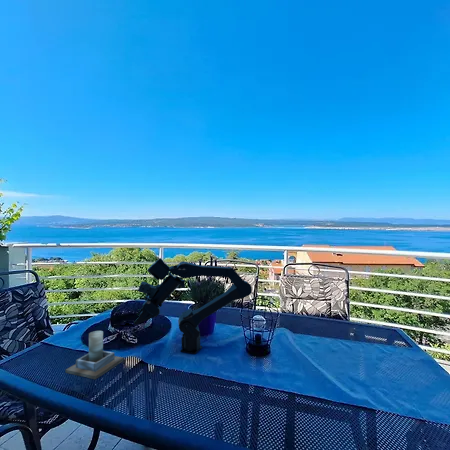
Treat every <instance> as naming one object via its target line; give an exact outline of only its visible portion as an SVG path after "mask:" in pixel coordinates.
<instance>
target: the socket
mask: <svg viewBox="0 0 450 450" xmlns="http://www.w3.org/2000/svg"><path fill="white" fill-rule="evenodd" d="M124 359H125V358H124V357H122V356H117V355H115V352H113V351H107V350H103V358H102V359H101V360H99V361H97V362H96V363H95V362H90V361H89V352H88V353H86V354H85V355H83V356H80V357H79V358H77V359H75V364H72V365H71V366H69V367H68V368H66V369H65V373H66V374H70V375H74V376H77V377H82V378H88V379H91V380H94V381H95V380H97V379H98V378H100V377H102V376H103V375H105V374H106V373H107V372H109V371H110V370H112V369H113V368H116V366H118V365H119V364H120V363H123V362H124V361H125V360H124Z"/></svg>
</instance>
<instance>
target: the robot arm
mask: <svg viewBox="0 0 450 450" xmlns="http://www.w3.org/2000/svg"><path fill="white" fill-rule="evenodd" d="M146 271H147V273H149V274H150V275H151V276H152V277H153V278H154V279H156V280H157V281H161V283H160V284H157V285H153V284H151V283H149V282H146V281H141V282H140V285H139V287H138V289H137V292H139V293H143V294H146V295H145V296H144V297H145V298H144V302H143V304H142V306H141V308H140V309H139V310H140V311H139V313H138V314H137V315H138V316H139V317H138V318H137V319H136V321H134V325H139V324H141V323H144V322H147V321H148V320H151V319H153V318H157V316H159V315H160V314H161V307H162V306H163V304H164V303H165V302H166V300H167V299H169V298H170V297H171V295H172V294H173V293H174V292H175V291H176V290H177V289H178V287H179V286H180V287H182V288H186V287H185V283H186V279H190V278H192V279H193V278H195V277H214V278H215V277H216V278H217V277H218V278H219V277H220V278H228V279H229V280H230V282H231V283H232V284H231V286H230V287H229V288H228V289H227V291H225V292H223V293H221V294H219V296H217V297H215V298H213V299H212V300H210V301H209V302H207V303H206V304H204V305H202V306H201V307H199V308H197V309H194V310H192V308H191V307H189V308H188V309H187V310H185V311H182V312H181V315H179V317H178V320H177V321H178V329H179V330H180V332H181V333H182V334H181V335H182V337H181V341H180V342H181V343H180V344H181V349H180V352H181V353H185V354H187V353H188V354H192V355H196V354H198V352H199V351H200V350H201V349H202V348H203V346H202V345H201V331H200V328H199V325H200V324H201V323H202V321H203V320H205V319H206V318H207V317H209V316H211V315H212V314H213V315H214V313H216V312H218V311H219V310H221V309H222V308H223V307H225V306H227V305H228V304H230V303H232V302H234V301H237V300H242V299H244V298H247V297H249V296H250V295H251V294H252V290H253V287H252V285H251V284H250V283H249V282H248V281H246V280H245V279H244V278H242V277H241V275H240V274H238V272H236V269H235V268H234V267H231V266H213V265H212V266H211V265H199V264H196V263H191V262H188V261H180V262H179V263H178V264H176V265H172V266H171V265H170V266H169V265H168V264H167V263H166V262H165V261H164V259H162V258H161V257H159V258H158V259H157V260H156V261H155V262H153V263H152V264H151V265H150V266H149V267H148V269H146Z"/></svg>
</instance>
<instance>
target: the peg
mask: <svg viewBox="0 0 450 450" xmlns="http://www.w3.org/2000/svg"><path fill="white" fill-rule="evenodd" d="M103 351H104V331H103V330H94V331H91V332H88V353H89V361H90V362H95V363H96V362H97V361H99V360H101V359H102V358H103Z"/></svg>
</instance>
